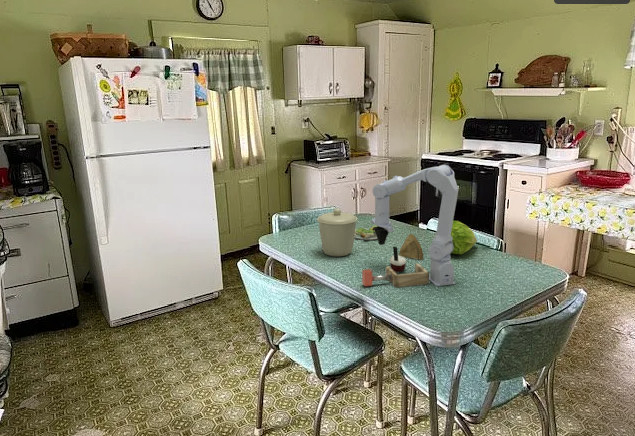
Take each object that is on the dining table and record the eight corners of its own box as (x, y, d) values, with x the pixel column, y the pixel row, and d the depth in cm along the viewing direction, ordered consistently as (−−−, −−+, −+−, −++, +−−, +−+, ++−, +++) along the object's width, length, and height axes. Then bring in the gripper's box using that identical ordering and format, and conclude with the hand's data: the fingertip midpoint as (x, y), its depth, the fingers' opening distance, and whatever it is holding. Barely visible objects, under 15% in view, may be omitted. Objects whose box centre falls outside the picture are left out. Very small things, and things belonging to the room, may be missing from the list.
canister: (336, 262, 198) (335, 215, 192) (309, 252, 211) (308, 208, 206) (365, 253, 209) (365, 208, 203) (339, 244, 222) (338, 201, 217)
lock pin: (391, 283, 174) (392, 269, 172) (364, 286, 171) (364, 272, 170) (389, 280, 176) (389, 267, 175) (362, 283, 174) (362, 269, 173)
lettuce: (456, 250, 221) (484, 262, 209) (423, 245, 206) (450, 257, 194) (466, 221, 219) (495, 231, 206) (433, 213, 204) (462, 224, 191)
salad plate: (380, 244, 222) (380, 235, 221) (345, 240, 228) (345, 232, 227) (389, 233, 239) (389, 224, 238) (356, 230, 245) (356, 222, 244)
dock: (428, 283, 174) (429, 272, 173) (395, 287, 171) (395, 276, 170) (417, 273, 183) (417, 263, 182) (385, 277, 181) (386, 266, 180)
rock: (430, 254, 199) (420, 244, 208) (421, 241, 195) (411, 231, 204) (411, 269, 199) (401, 259, 208) (401, 257, 195) (392, 247, 204)
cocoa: (398, 266, 192) (399, 239, 189) (410, 270, 188) (411, 242, 185) (383, 272, 186) (384, 244, 183) (395, 276, 182) (396, 247, 178)
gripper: (400, 215, 181) (399, 247, 185) (381, 207, 194) (381, 238, 198) (384, 217, 179) (384, 250, 182) (367, 209, 192) (366, 240, 195)
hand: (381, 244), depth 190 cm, fingers closed
